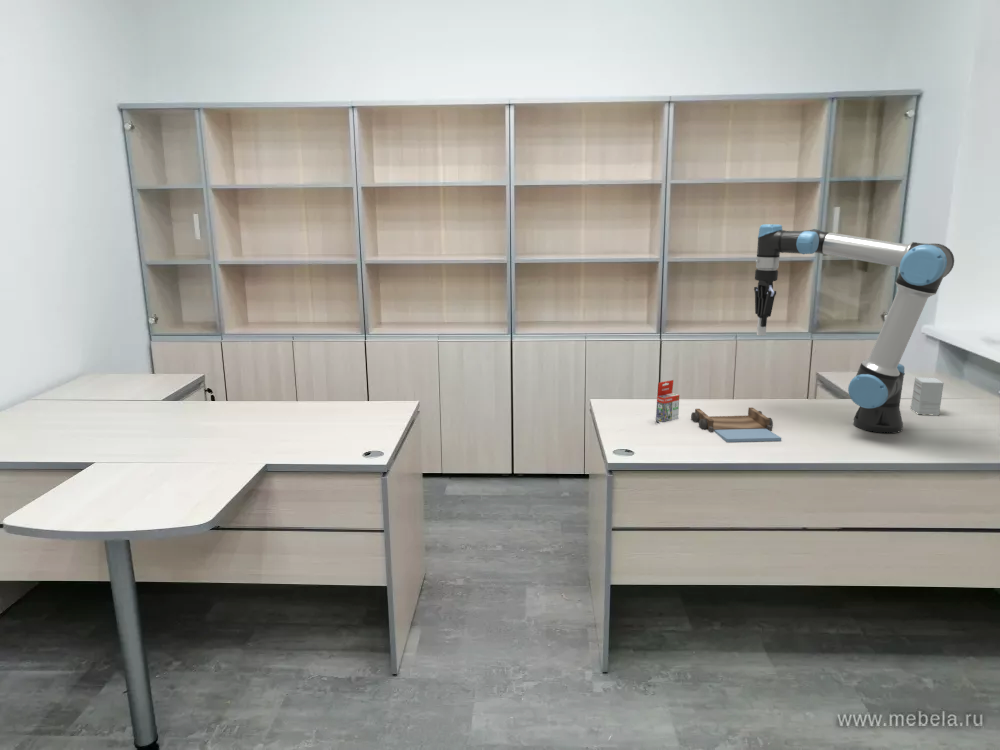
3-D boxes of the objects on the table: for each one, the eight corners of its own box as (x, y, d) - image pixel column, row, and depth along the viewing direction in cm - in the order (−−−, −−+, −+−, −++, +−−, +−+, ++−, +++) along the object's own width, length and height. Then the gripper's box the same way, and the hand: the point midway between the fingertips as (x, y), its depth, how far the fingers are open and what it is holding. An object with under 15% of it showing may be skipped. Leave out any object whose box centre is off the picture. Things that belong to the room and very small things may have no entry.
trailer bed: (689, 420, 254) (690, 408, 253) (756, 419, 256) (757, 407, 255) (705, 435, 239) (706, 422, 238) (776, 433, 240) (777, 420, 239)
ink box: (678, 421, 254) (681, 381, 250) (662, 425, 249) (665, 384, 246) (670, 418, 257) (673, 379, 253) (655, 422, 252) (657, 382, 249)
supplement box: (931, 410, 267) (936, 377, 264) (939, 416, 260) (944, 382, 257) (909, 409, 268) (914, 376, 265) (917, 415, 261) (922, 381, 258)
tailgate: (713, 429, 240) (727, 438, 228) (765, 427, 241) (781, 437, 230) (713, 432, 240) (726, 442, 229) (765, 431, 242) (781, 441, 230)
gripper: (748, 267, 256) (743, 332, 262) (764, 271, 244) (758, 338, 249) (769, 267, 257) (763, 331, 262) (785, 270, 244) (779, 338, 250)
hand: (761, 335), depth 256 cm, fingers closed
